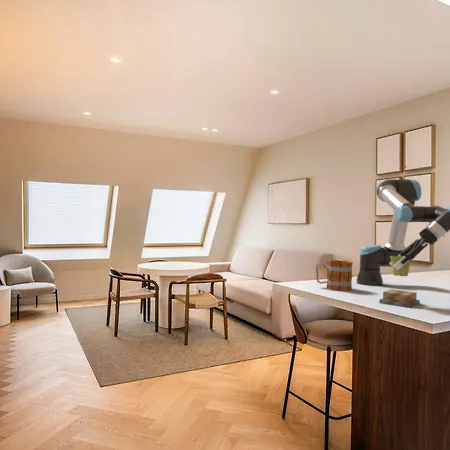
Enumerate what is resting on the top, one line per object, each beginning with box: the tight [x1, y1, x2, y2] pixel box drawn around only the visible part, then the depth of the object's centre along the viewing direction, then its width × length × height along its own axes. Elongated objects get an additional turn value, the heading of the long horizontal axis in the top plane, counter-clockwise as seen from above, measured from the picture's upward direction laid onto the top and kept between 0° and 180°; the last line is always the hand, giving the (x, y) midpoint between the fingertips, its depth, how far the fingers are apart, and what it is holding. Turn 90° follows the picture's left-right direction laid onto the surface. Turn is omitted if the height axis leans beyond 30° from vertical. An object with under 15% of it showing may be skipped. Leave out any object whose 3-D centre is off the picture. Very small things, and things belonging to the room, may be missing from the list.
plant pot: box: [390, 256, 412, 277], centre depth 177 cm, size 9×9×9 cm
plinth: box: [378, 288, 421, 308], centre depth 177 cm, size 13×14×5 cm
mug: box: [315, 260, 353, 292], centre depth 214 cm, size 20×14×15 cm
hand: (393, 266), depth 178 cm, fingers closed on plant pot, 9 cm apart
